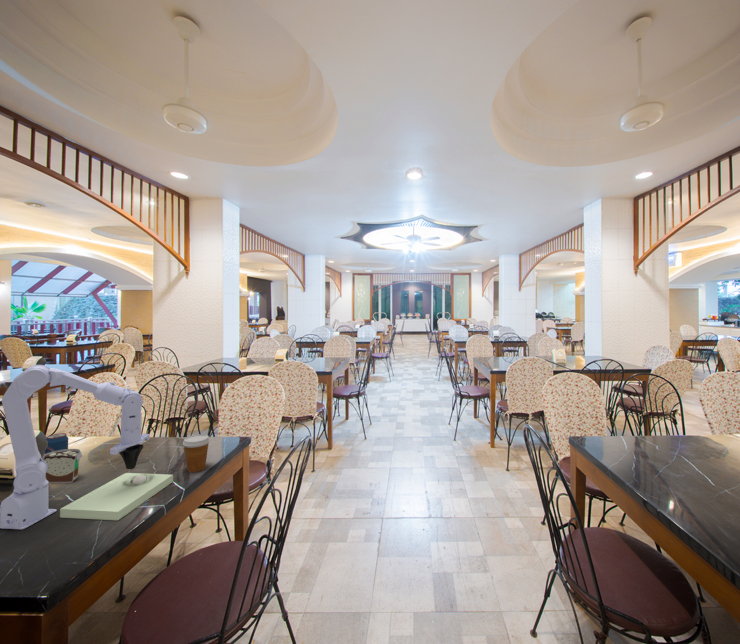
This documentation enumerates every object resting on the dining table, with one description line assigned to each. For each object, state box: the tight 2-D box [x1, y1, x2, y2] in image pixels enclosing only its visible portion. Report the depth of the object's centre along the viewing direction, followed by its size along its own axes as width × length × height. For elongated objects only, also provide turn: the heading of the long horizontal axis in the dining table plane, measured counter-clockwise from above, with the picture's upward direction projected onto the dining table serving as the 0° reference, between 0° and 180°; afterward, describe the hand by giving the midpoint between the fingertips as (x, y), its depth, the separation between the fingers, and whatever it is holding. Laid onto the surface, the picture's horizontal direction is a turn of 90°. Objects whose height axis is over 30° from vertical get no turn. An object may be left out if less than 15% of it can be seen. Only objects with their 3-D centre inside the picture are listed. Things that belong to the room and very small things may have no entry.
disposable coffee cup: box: [182, 434, 211, 473], centre depth 132 cm, size 10×10×12 cm
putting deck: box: [59, 472, 174, 521], centre depth 110 cm, size 24×18×2 cm
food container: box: [41, 448, 83, 484], centre depth 123 cm, size 12×6×10 cm, turn 92°
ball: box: [133, 475, 147, 484], centre depth 117 cm, size 4×4×4 cm
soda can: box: [43, 432, 69, 455], centre depth 134 cm, size 7×7×12 cm
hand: (130, 468), depth 113 cm, fingers closed
